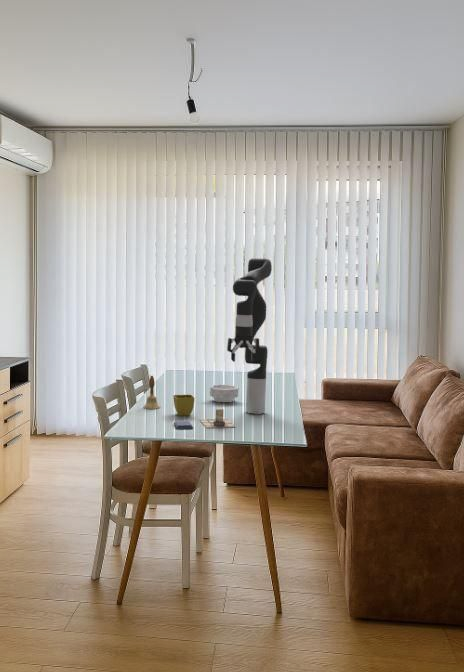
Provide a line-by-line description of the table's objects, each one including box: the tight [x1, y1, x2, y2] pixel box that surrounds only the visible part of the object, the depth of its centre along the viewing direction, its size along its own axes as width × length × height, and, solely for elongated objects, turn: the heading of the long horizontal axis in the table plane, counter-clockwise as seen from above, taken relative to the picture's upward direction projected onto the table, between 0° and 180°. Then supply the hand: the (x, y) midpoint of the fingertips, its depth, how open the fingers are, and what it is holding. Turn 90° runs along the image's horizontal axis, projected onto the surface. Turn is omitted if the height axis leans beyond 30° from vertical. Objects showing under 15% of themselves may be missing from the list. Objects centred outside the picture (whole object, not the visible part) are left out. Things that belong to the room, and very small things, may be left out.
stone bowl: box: [209, 384, 240, 403], centre depth 345 cm, size 15×15×8 cm
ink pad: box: [173, 420, 194, 430], centre depth 282 cm, size 9×7×2 cm
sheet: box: [199, 418, 236, 429], centre depth 290 cm, size 16×13×1 cm
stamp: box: [214, 408, 225, 426], centre depth 285 cm, size 5×5×7 cm
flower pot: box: [173, 394, 196, 417], centre depth 307 cm, size 9×9×9 cm
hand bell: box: [143, 375, 161, 410], centre depth 322 cm, size 8×8×16 cm
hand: (242, 361), depth 289 cm, fingers open, 8 cm apart
